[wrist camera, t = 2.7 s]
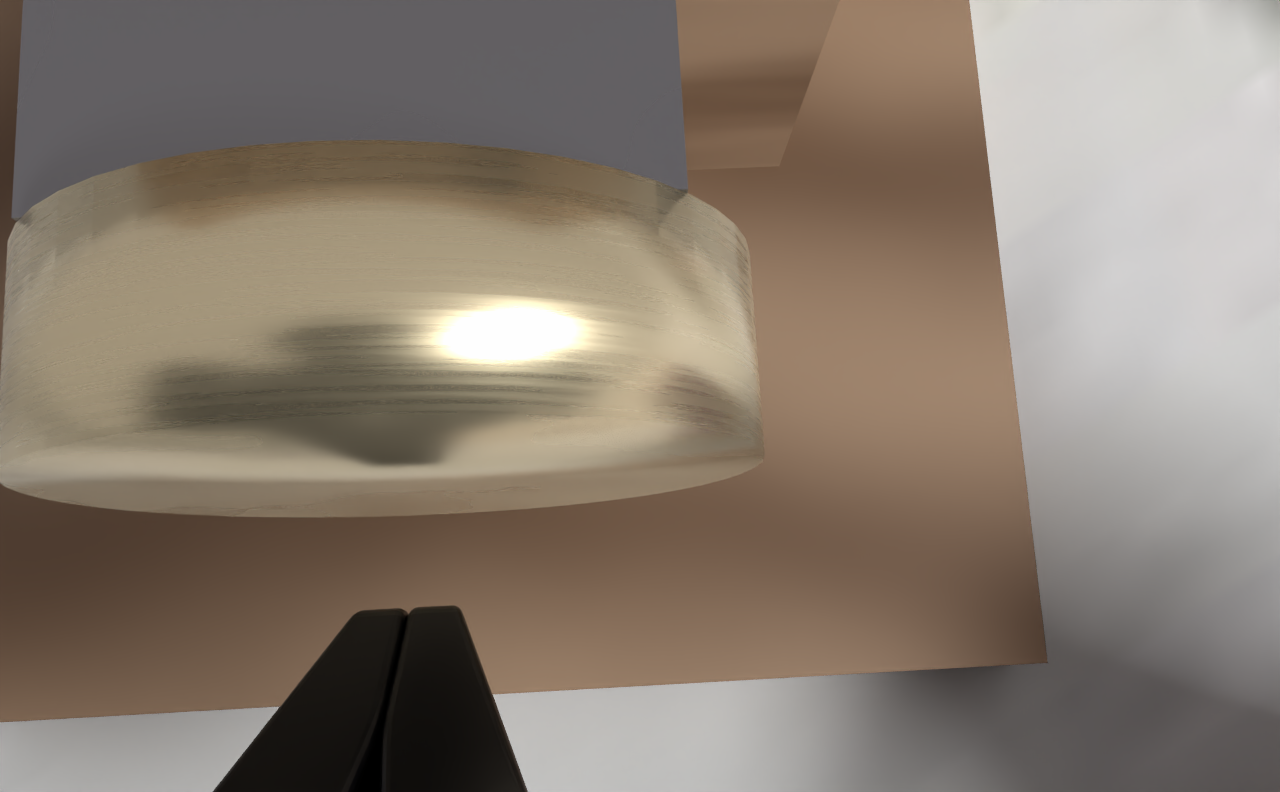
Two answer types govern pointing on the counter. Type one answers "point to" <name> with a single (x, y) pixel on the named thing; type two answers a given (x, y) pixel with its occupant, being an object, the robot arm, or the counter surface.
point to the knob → (365, 261)
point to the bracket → (665, 522)
